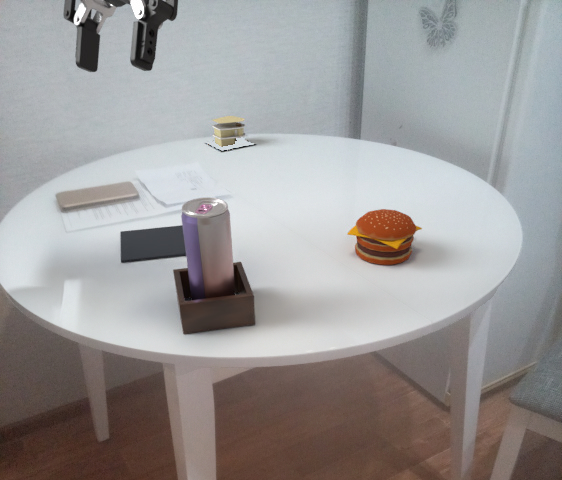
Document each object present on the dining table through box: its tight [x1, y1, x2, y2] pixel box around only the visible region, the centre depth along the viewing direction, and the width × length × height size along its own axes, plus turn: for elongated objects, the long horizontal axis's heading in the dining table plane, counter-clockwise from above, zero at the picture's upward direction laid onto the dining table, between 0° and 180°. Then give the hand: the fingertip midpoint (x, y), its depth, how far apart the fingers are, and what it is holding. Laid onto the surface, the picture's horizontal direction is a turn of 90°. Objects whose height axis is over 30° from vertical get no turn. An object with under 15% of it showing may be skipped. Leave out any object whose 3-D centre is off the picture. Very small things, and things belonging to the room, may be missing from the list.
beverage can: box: [180, 197, 236, 300], centre depth 73 cm, size 6×6×15 cm
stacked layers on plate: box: [211, 115, 246, 153], centre depth 134 cm, size 10×9×6 cm
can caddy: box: [172, 261, 256, 335], centre depth 76 cm, size 10×10×4 cm
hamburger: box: [346, 208, 423, 266], centre depth 89 cm, size 9×10×7 cm
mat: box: [119, 224, 186, 263], centre depth 94 cm, size 11×11×1 cm
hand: (112, 69), depth 56 cm, fingers open, 8 cm apart
